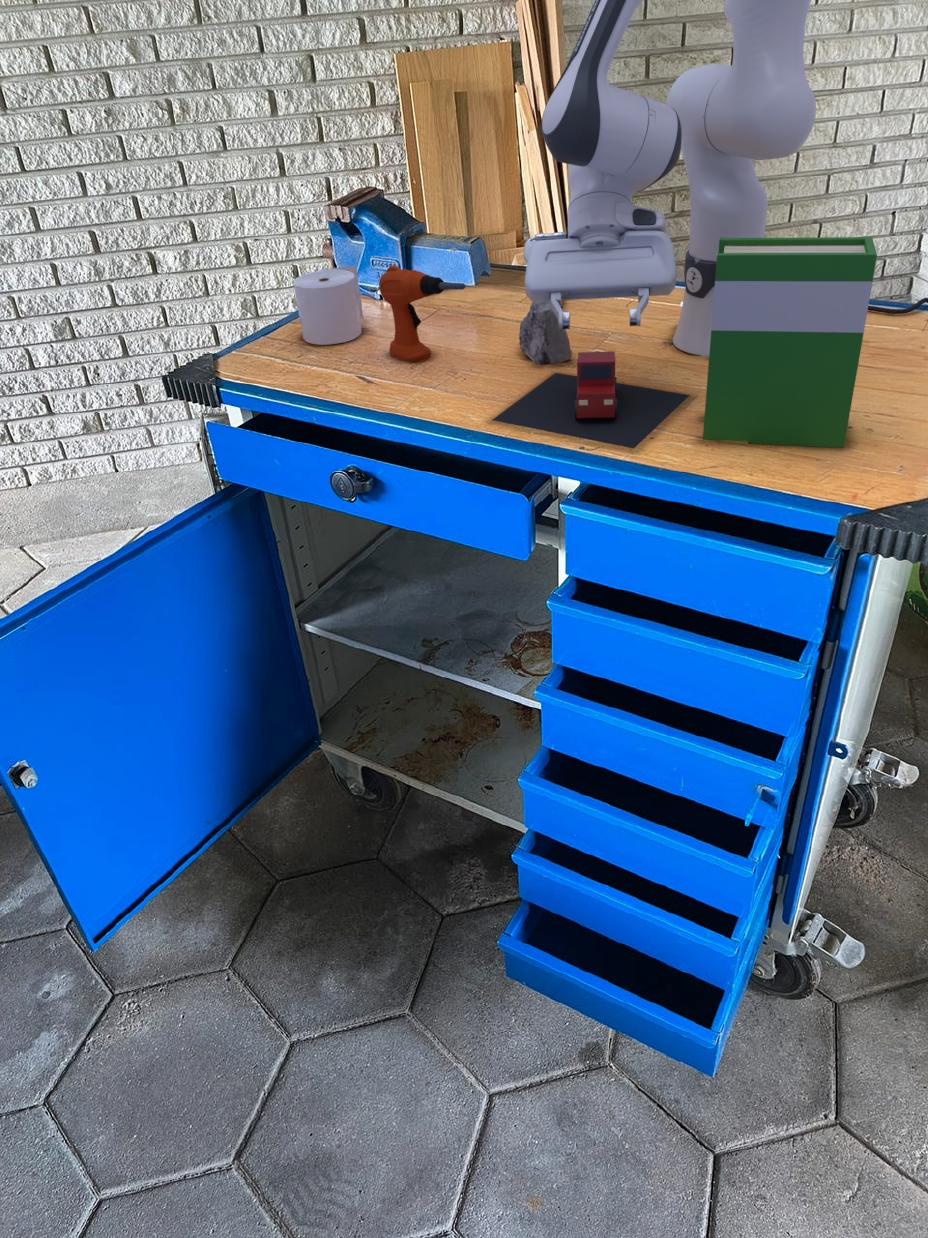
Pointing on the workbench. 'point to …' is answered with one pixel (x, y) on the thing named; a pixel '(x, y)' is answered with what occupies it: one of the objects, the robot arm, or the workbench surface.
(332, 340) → the toilet tissue
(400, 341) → the toy drill
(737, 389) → the hardback book
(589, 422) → the mat
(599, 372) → the toy pickup truck
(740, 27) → the robot arm
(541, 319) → the mineral rock
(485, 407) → the workbench surface
